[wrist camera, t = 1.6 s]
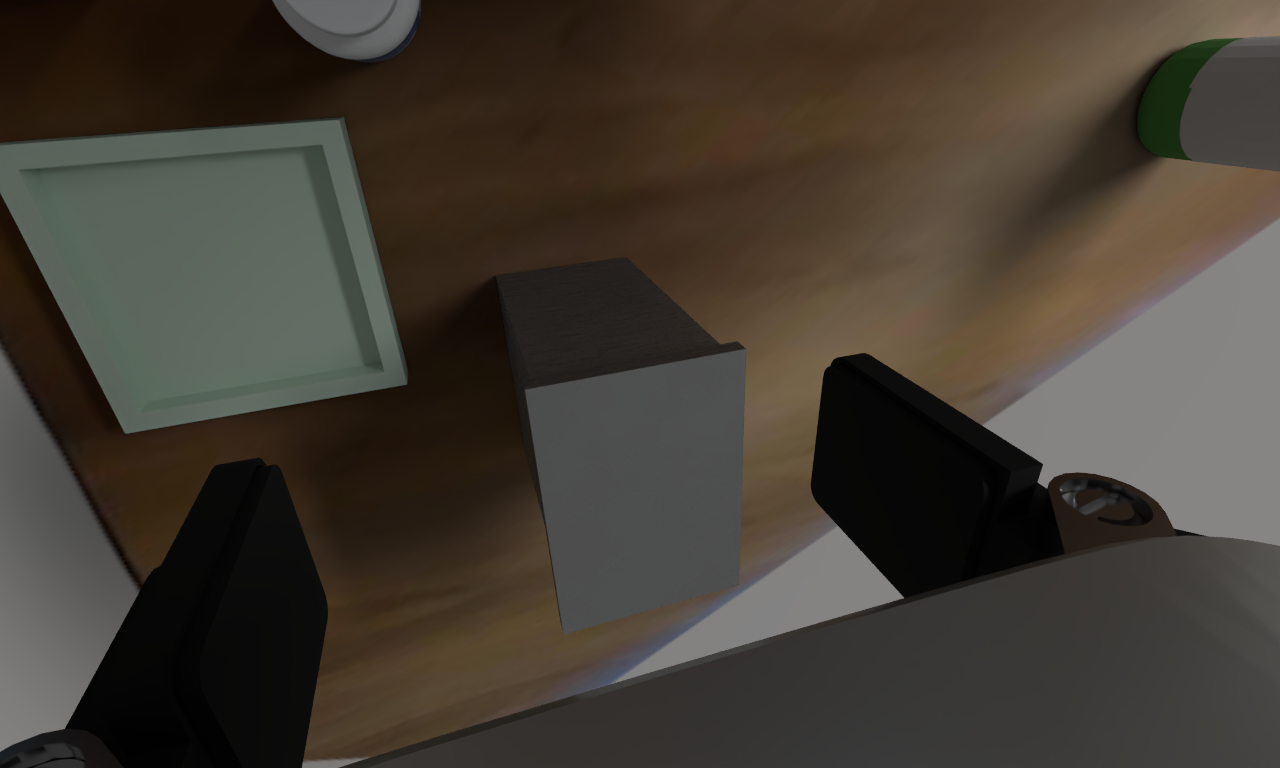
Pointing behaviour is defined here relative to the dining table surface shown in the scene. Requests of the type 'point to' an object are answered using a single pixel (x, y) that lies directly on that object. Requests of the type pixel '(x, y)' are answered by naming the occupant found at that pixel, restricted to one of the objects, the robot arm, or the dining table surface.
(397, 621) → the dining table surface
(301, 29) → the pill bottle
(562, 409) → the metal box
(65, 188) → the tray
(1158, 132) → the wine bottle
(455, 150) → the dining table surface
